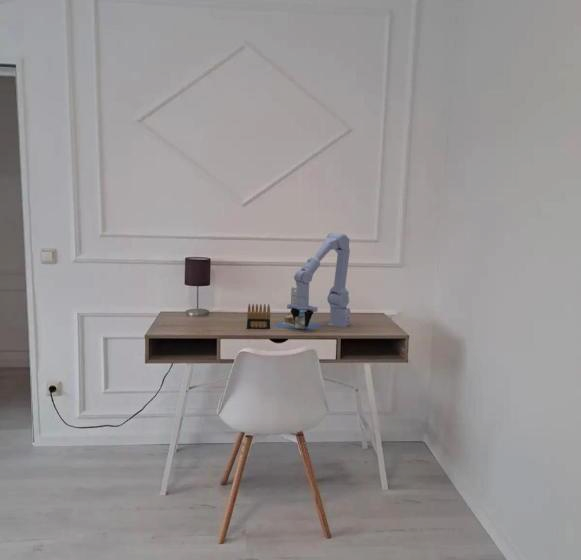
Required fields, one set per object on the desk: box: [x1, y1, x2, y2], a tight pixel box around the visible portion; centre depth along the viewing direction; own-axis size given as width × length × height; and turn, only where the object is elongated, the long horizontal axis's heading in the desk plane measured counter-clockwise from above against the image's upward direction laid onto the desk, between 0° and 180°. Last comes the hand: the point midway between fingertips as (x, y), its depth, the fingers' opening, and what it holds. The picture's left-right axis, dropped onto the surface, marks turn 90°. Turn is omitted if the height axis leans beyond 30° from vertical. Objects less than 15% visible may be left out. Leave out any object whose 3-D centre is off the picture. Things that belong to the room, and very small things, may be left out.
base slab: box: [283, 314, 301, 325], centre depth 251 cm, size 8×8×3 cm
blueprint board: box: [270, 319, 325, 332], centre depth 246 cm, size 20×18×1 cm
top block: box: [295, 316, 308, 329], centre depth 238 cm, size 4×4×5 cm
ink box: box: [290, 287, 306, 316], centre depth 269 cm, size 8×5×15 cm, turn 39°
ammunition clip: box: [246, 303, 271, 330], centre depth 236 cm, size 11×2×12 cm, turn 91°
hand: (301, 325), depth 238 cm, fingers closed on top block, 4 cm apart
